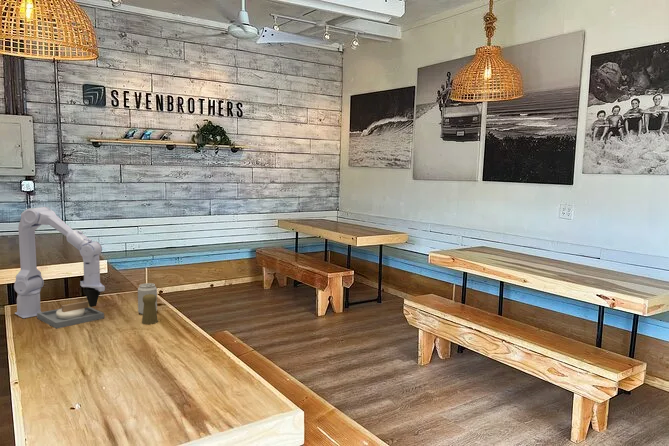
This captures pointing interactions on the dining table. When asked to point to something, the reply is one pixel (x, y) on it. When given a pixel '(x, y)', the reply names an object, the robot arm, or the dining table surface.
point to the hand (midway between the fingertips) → (92, 306)
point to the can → (144, 290)
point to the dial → (72, 310)
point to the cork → (149, 309)
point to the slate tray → (55, 322)
